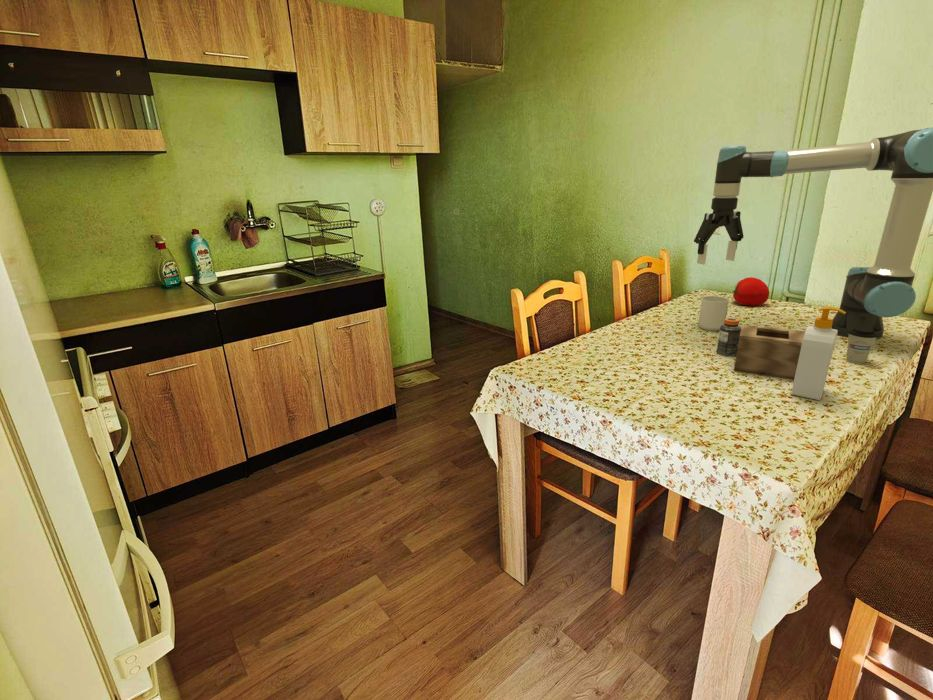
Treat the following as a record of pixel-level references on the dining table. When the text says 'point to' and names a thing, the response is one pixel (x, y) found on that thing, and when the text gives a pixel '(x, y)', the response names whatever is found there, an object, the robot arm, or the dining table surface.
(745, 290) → the tomato
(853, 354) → the coffee cup
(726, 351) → the pill bottle
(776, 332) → the deposit box
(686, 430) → the dining table surface
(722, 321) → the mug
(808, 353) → the soap bottle
